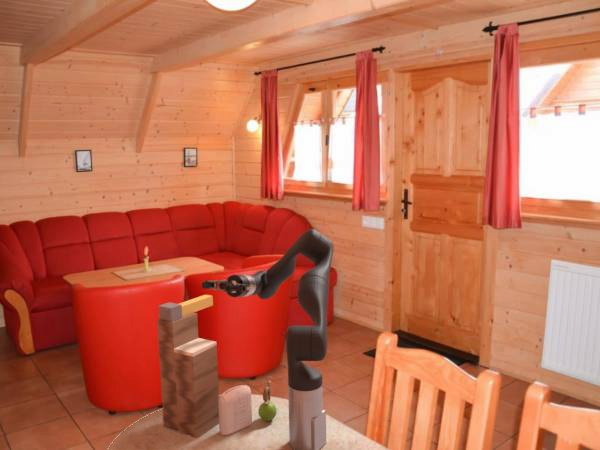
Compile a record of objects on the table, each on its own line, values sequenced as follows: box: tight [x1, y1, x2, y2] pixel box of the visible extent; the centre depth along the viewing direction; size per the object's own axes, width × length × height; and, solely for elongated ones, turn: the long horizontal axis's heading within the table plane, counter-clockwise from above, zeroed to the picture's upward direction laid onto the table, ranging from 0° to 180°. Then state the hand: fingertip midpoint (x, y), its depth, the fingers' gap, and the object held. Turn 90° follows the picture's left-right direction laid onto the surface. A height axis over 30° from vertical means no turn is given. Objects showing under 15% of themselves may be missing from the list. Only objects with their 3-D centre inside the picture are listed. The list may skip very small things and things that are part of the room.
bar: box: [158, 294, 214, 322], centre depth 160 cm, size 5×18×4 cm, turn 147°
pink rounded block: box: [218, 384, 253, 436], centre depth 156 cm, size 10×4×12 cm, turn 134°
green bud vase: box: [258, 376, 278, 422], centre depth 161 cm, size 5×6×12 cm
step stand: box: [156, 312, 220, 439], centre depth 157 cm, size 13×10×32 cm
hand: (214, 286), depth 169 cm, fingers open, 8 cm apart
